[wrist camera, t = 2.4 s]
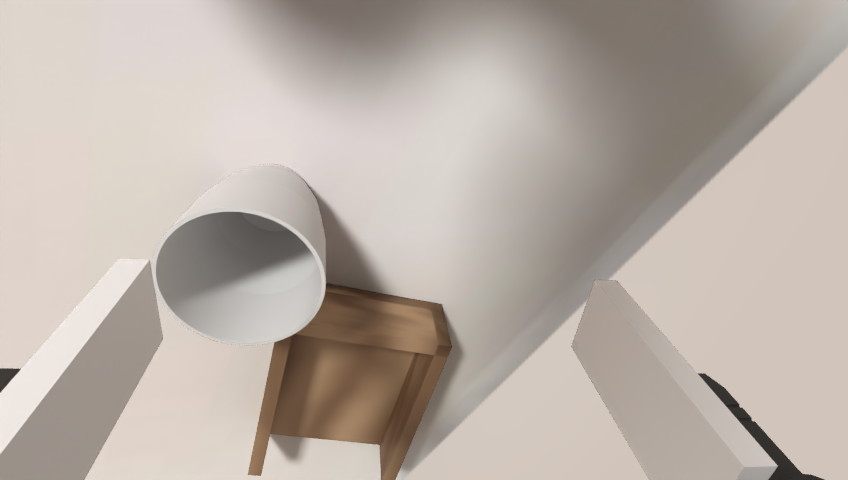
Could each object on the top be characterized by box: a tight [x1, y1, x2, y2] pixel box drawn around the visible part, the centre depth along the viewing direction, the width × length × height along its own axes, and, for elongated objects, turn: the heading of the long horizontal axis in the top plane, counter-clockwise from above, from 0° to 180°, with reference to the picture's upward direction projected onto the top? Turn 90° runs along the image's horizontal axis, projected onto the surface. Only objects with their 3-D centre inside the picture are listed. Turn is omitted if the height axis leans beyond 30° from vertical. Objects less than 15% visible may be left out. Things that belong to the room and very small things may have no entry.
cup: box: [151, 164, 326, 346], centre depth 27 cm, size 8×8×10 cm
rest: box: [248, 284, 452, 480], centre depth 37 cm, size 12×16×5 cm
